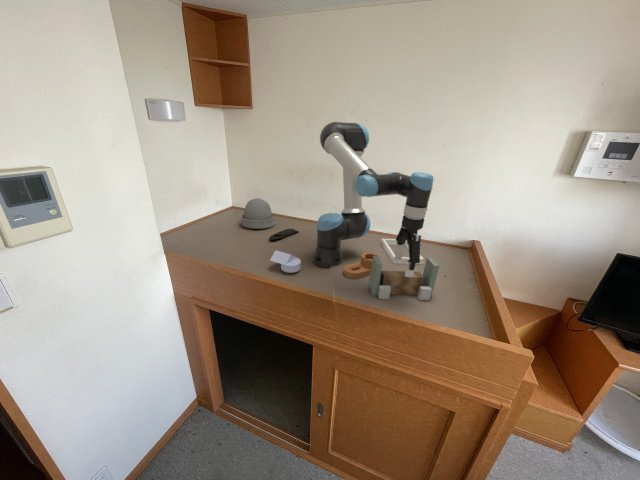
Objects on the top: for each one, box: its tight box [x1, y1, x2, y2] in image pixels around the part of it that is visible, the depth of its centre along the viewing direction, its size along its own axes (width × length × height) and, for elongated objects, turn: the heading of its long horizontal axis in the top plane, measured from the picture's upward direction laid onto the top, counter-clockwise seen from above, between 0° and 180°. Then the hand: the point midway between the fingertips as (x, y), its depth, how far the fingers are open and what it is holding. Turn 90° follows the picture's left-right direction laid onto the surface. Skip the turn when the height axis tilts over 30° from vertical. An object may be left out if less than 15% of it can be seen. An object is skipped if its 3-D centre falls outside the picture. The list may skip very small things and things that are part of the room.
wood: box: [269, 228, 300, 241], centre depth 159 cm, size 22×7×3 cm, turn 142°
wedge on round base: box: [269, 250, 302, 274], centre depth 124 cm, size 9×7×13 cm
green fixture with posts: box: [368, 255, 440, 301], centre depth 108 cm, size 24×12×14 cm, turn 92°
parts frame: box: [380, 238, 425, 265], centre depth 145 cm, size 15×25×3 cm, turn 2°
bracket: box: [343, 252, 381, 280], centre depth 123 cm, size 18×8×7 cm, turn 121°
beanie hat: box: [241, 197, 276, 230], centre depth 173 cm, size 21×21×20 cm
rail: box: [379, 270, 424, 296], centre depth 109 cm, size 16×4×8 cm, turn 92°
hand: (402, 267), depth 107 cm, fingers open, 13 cm apart
